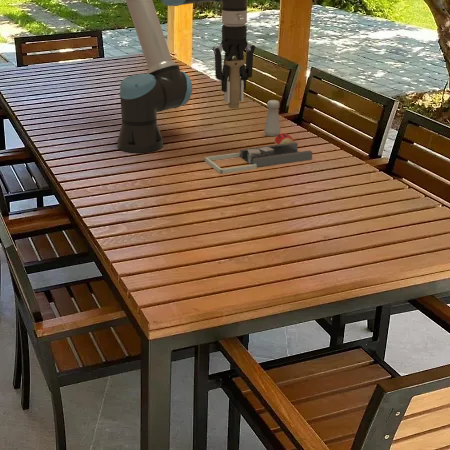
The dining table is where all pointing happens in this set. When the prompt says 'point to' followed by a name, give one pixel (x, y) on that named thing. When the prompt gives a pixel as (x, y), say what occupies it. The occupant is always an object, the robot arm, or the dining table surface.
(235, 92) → the handle
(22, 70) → the dining table surface
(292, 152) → the rail
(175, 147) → the dining table surface
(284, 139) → the ladybug figurine
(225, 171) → the tray
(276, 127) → the salt shaker
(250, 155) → the pale grey cube
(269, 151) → the pale beige cube
